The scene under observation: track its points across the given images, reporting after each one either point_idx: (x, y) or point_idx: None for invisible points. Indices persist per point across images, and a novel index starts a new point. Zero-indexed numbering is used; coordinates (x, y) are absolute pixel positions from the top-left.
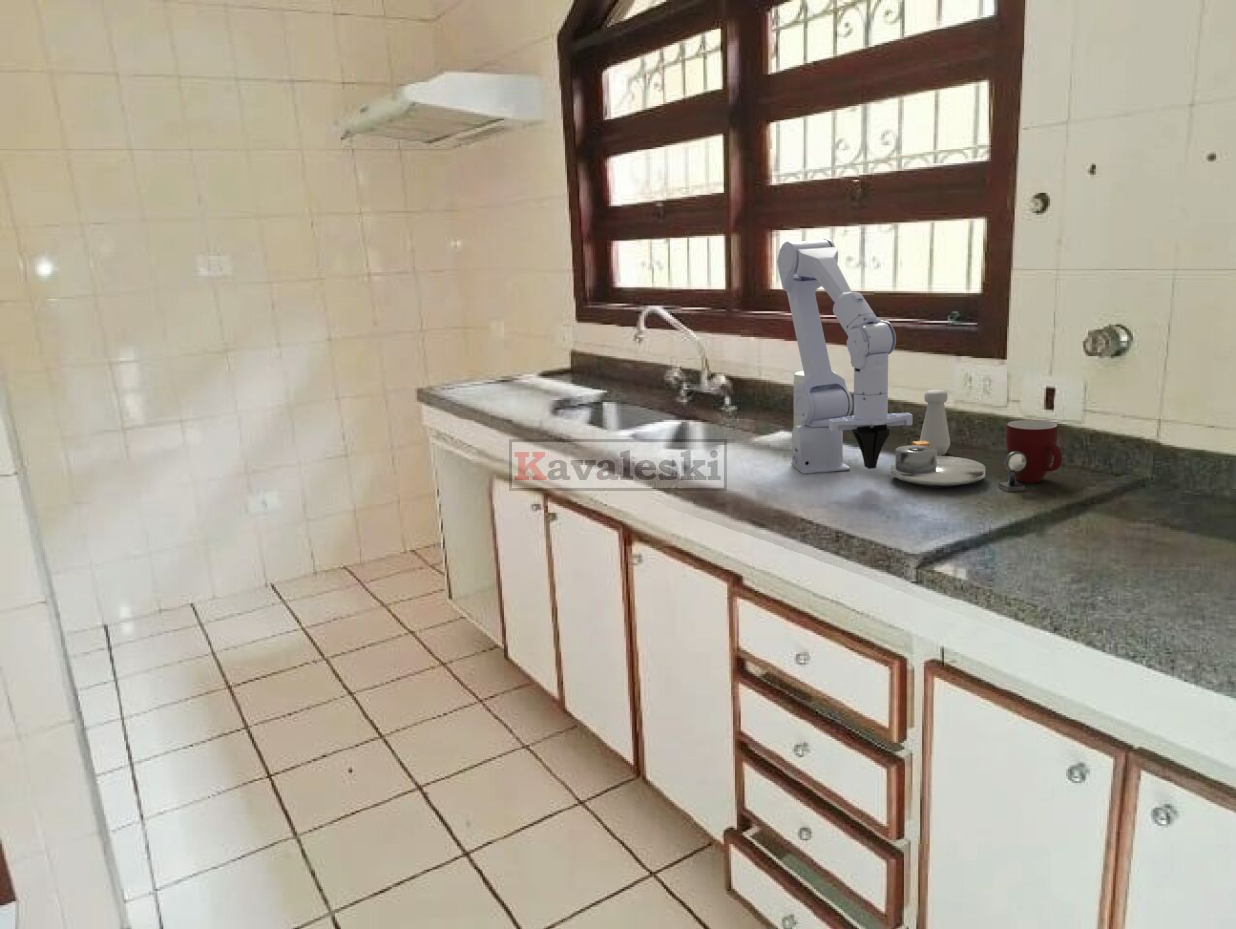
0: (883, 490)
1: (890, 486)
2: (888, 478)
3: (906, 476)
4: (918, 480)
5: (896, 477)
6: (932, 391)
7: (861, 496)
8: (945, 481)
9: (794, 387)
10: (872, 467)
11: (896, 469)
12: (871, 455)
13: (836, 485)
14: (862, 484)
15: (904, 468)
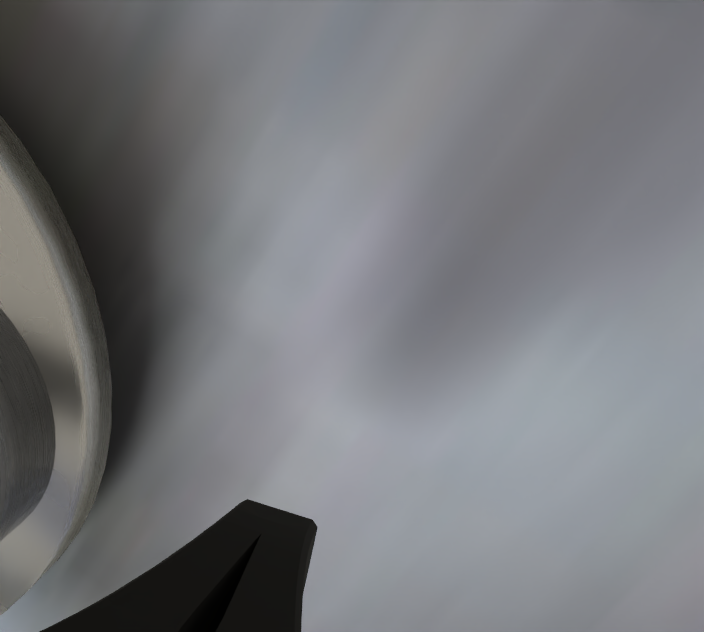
0: (297, 309)
1: (196, 365)
2: (113, 521)
3: (59, 279)
4: (10, 159)
5: (109, 391)
6: None
7: (559, 263)
8: None
9: None
10: (275, 514)
11: (52, 460)
12: (252, 598)
13: (530, 606)
14: (346, 517)
15: (4, 371)
